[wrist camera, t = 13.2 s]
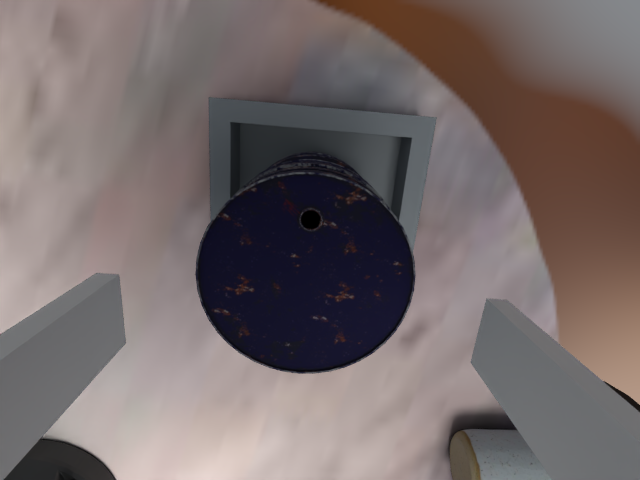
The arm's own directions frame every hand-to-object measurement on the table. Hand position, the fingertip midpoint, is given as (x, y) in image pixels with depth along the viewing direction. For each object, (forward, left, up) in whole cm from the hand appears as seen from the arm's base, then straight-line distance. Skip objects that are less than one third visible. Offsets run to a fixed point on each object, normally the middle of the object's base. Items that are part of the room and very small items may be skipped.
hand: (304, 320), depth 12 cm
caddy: (0, 0, -19) cm, 19 cm away
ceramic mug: (+22, -26, -19) cm, 39 cm away
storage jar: (0, 0, -18) cm, 18 cm away
